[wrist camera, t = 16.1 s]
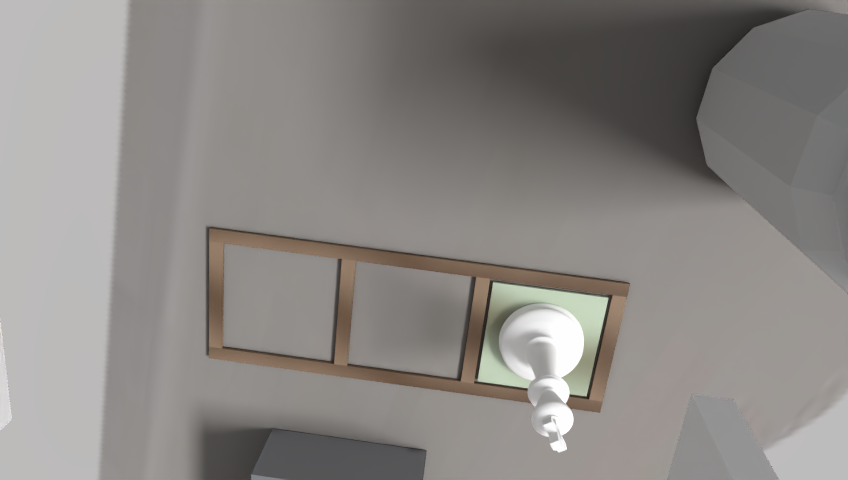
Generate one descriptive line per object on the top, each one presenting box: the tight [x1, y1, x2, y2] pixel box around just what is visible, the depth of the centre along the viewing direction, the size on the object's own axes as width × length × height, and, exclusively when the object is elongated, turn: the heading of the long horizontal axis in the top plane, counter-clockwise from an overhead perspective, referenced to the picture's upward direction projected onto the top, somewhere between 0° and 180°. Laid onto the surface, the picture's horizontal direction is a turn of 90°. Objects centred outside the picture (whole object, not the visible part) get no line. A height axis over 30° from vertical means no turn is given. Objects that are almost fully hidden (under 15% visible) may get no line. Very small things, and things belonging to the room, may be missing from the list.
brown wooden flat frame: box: [209, 227, 630, 413], centre depth 43 cm, size 9×24×1 cm, turn 84°
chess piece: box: [499, 303, 584, 453], centre depth 38 cm, size 5×5×10 cm
